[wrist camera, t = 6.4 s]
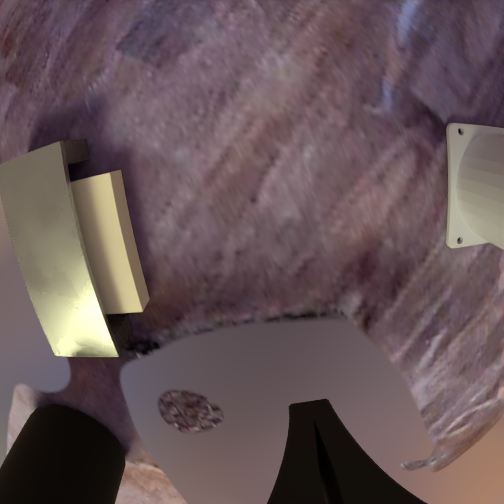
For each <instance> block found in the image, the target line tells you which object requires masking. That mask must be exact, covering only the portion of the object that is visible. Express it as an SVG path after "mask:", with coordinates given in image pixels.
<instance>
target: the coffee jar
mask: <svg viewBox="0 0 504 504" xmlns="http://www.w3.org/2000/svg"><path fill="white" fill-rule="evenodd" d="M124 469H125V457H124V453H123V451H122V448H121V445H120V444H119V442H118V440H117V439H116V437H115V436H114V435H113V434H112V433H111V432H110V431H109V430H108V429H107V428H106V427H104V426H103V425H101V424H100V423H99V422H97V421H96V420H95V419H93V418H91V417H89V416H87V415H86V414H84V413H82V412H80V411H77V410H75V409H72V408H69V407H67V406H62V405H56V404H53V405H47V406H45V407H39V408H38V409H36V410H35V411H34V412H33V413H32V414H31V415H30V417H29V418H28V420H27V422H26V423H25V425H24V427H23V428H22V430H21V432H20V434H19V435H18V437H17V439H16V440H15V442H14V444H13V446H12V448H11V449H10V451H9V453H8V455H7V457H6V459H5V460H4V462H3V464H2V466H1V468H0V504H115V501H116V497H117V493H118V490H119V486H120V483H121V479H122V476H123V472H124Z"/></svg>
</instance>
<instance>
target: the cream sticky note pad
mask: <svg viewBox="0 0 504 504" xmlns="http://www.w3.org/2000/svg"><path fill="white" fill-rule="evenodd" d="M71 188H72V193H73V198H74V202H75V207H76V212H77V216H78V220H79V225H80V229H81V233H82V237H83V241H84V245H85V248H86V252H87V256H88V259H89V263H90V266H91V270H92V273H93V276H94V280H95V283H96V286H97V289H98V292H99V295H100V298H101V301H102V304H103V307H104V310H105V313H106V314H119V313H134V312H143V311H144V309H145V307H146V305H147V303H148V301H149V300H150V298H149V294H148V291H147V287H146V283H145V279H144V276H143V272H142V268H141V264H140V260H139V256H138V251H137V247H136V243H135V238H134V234H133V229H132V225H131V220H130V215H129V211H128V206H127V200H126V195H125V190H124V184H123V179H122V173H121V170H117V171H112V172H108V173H104V174H100V175H95V176H91V177H87V178H83V179H79V180H76V181H72V182H71Z"/></svg>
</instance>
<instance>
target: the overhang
mask: <svg viewBox="0 0 504 504" xmlns="http://www.w3.org/2000/svg"><path fill="white" fill-rule="evenodd" d="M85 160H89V153H88V146H87V139H83V140H67V141H59V142H56V143H53V144H50V145H47V146H44V147H42V148H39V149H36V150H34V151H31V152H29V153H26V154H23V155H21V156H19V157H16V158H14V159H11V160H9V161H7V162H4V163H2V164H0V194H1V199H2V203H3V208H4V212H5V217H6V221H7V225H8V229H9V233H10V237H11V240H12V244H13V247H14V251H15V254H16V258H17V260H18V264H19V267H20V270H21V273H22V276H23V279H24V282H25V285H26V288H27V290H28V293H29V296H30V298H31V301H32V304H33V306H34V309H35V311H36V314H37V316H38V319H39V321H40V323H41V326H42V328H43V330H44V332H45V335H46V337H47V339H48V341H49V343H50V346H51V348H52V350H53V352H54V354H55V356H68V357H119V355H120V353H121V351H122V349H123V347H124V345H125V344H126V342H127V340H128V338H129V336H130V334H131V332H132V327H131V324H130V321H129V318H128V315H113V316H106V313H105V310H104V307H103V304H102V301H101V298H100V295H99V292H98V289H97V286H96V283H95V280H94V276H93V273H92V270H91V266H90V263H89V259H88V256H87V252H86V248H85V245H84V241H83V237H82V233H81V229H80V225H79V220H78V216H77V212H76V207H75V202H74V198H73V193H72V188H71V182H70V177H69V171H68V165H71V164H74V163H78V162H81V161H85Z"/></svg>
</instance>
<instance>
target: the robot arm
mask: <svg viewBox="0 0 504 504" xmlns="http://www.w3.org/2000/svg"><path fill="white" fill-rule="evenodd" d="M459 128H460V130H461V133H460V134H459V132H458V129H459ZM446 135H447V153H448V214H447V233H446V244H447V246H449V247H450V248H459V247H465V246H471V245H477V244H483V243H489V242H490V243H492V244H494V245H496V246H498V247H499V248H501V249H503V250H504V128H499V127H491V126H482V125H473V124H462V123H449V124H448V125H447V127H446ZM459 237H460V239H459V241H458V242H457V240H458V238H459ZM289 418H290V419H289V430H288V437H287V442H286V448H285V452H284V456H283V460H282V464H281V467H280V470H279V474H278V477H277V480H276V483H275V485H274V488H273V490H272V493H271V495H270V498H269V500H268V502H267V504H427V503H425V502H423V501H422V500H420V499H419V498H417V497H416V496H415V495H413V494H411V493H410V492H409V491H407V490H406V489H405V488H403V487H402V486H401V485H399V484H398V483H397V482H396V481H395V480H393V479H392V478H391V477H390V476H389V475H388V474H386V473H385V472H384V471H383V470H382V469H381V468H380V467H379V466H378V465H377V464H376V463H375V462H374V461H373V460H372V459H371V458H370V457H369V456H368V455H367V454H366V452H365V451H364V450H363V449H362V448H361V447H360V446H359V444H358V443H357V442H356V441H355V439H354V438H353V437H352V436H351V434H350V433H349V432H348V430H347V429H346V428H345V426H344V425H343V423H342V422H341V420H340V419H339V417H338V416H337V414H336V413H335V411H334V409H333V408H332V406H331V404H330V402H329V400H327V399H321V400H315V401H309V402H302V403H295V404H291V405H290V406H289Z"/></svg>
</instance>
